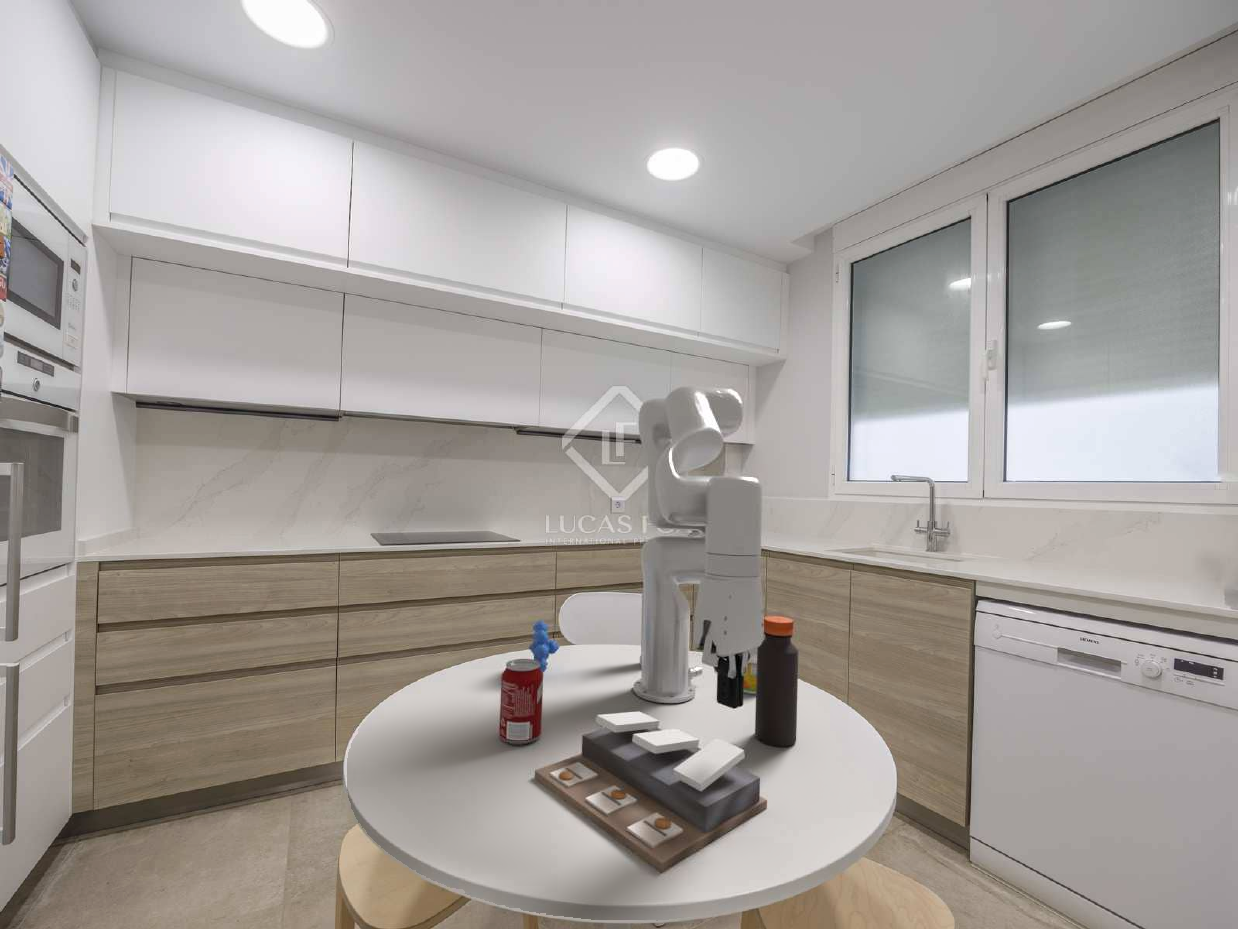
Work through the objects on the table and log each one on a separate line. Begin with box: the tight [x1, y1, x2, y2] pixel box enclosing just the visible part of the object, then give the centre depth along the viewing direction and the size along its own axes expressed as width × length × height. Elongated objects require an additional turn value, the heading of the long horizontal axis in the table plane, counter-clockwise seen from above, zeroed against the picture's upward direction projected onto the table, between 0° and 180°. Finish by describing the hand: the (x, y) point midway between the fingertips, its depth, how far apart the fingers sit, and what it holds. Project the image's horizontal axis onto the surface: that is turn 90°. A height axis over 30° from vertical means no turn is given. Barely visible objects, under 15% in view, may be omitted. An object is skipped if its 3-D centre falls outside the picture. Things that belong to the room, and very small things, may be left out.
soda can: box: [498, 658, 544, 746], centre depth 93 cm, size 7×7×12 cm
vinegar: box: [754, 615, 799, 748], centre depth 96 cm, size 7×7×20 cm
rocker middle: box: [632, 728, 700, 754], centre depth 80 cm, size 9×4×1 cm, turn 131°
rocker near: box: [673, 737, 746, 791], centre depth 74 cm, size 9×4×1 cm, turn 132°
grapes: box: [528, 620, 560, 674], centre depth 123 cm, size 12×7×12 cm, turn 11°
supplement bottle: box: [742, 653, 757, 695], centre depth 118 cm, size 5×5×10 cm
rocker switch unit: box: [534, 727, 768, 873], centre depth 77 cm, size 20×25×4 cm
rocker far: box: [595, 711, 660, 733], centre depth 86 cm, size 9×4×1 cm, turn 131°
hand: (729, 704), depth 76 cm, fingers closed
